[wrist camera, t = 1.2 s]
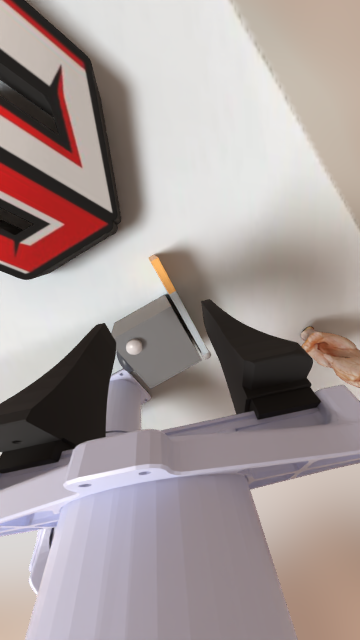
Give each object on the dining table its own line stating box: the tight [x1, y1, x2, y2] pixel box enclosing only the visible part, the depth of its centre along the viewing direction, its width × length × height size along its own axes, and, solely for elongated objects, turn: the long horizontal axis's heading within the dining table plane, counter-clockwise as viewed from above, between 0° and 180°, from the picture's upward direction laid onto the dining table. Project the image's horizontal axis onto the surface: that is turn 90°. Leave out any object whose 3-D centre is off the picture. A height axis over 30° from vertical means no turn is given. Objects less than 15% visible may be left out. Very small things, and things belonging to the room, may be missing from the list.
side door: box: [149, 255, 211, 359], centre depth 22 cm, size 1×14×5 cm, turn 28°
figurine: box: [301, 326, 360, 388], centre depth 26 cm, size 6×8×15 cm
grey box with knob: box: [111, 295, 202, 389], centre depth 23 cm, size 9×9×6 cm
